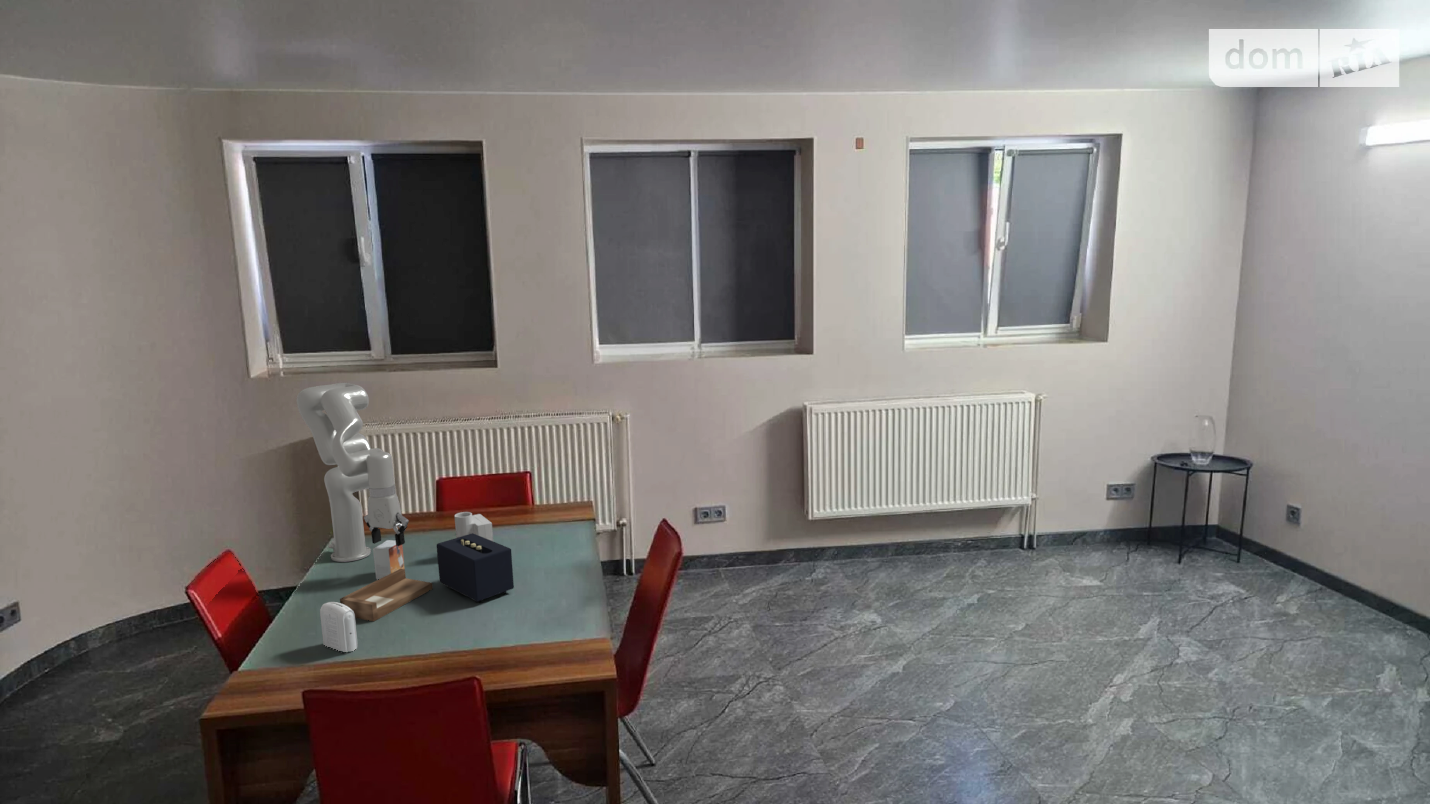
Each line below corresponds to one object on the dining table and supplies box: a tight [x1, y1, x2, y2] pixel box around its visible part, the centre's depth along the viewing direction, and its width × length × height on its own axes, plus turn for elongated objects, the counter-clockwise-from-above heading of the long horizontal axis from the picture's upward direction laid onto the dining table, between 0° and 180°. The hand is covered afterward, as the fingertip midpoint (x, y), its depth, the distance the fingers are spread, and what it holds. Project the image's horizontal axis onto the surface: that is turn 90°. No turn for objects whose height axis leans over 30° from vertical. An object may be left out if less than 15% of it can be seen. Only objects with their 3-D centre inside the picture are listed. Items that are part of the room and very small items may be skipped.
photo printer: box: [319, 601, 358, 652], centre depth 217 cm, size 10×4×12 cm, turn 61°
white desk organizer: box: [454, 511, 494, 542], centre depth 280 cm, size 12×14×15 cm
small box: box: [372, 539, 406, 580], centre depth 265 cm, size 8×6×10 cm
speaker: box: [436, 533, 515, 604], centre depth 252 cm, size 22×13×15 cm, turn 47°
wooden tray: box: [339, 569, 433, 622], centre depth 245 cm, size 12×24×5 cm, turn 157°
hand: (388, 543), depth 263 cm, fingers open, 9 cm apart
